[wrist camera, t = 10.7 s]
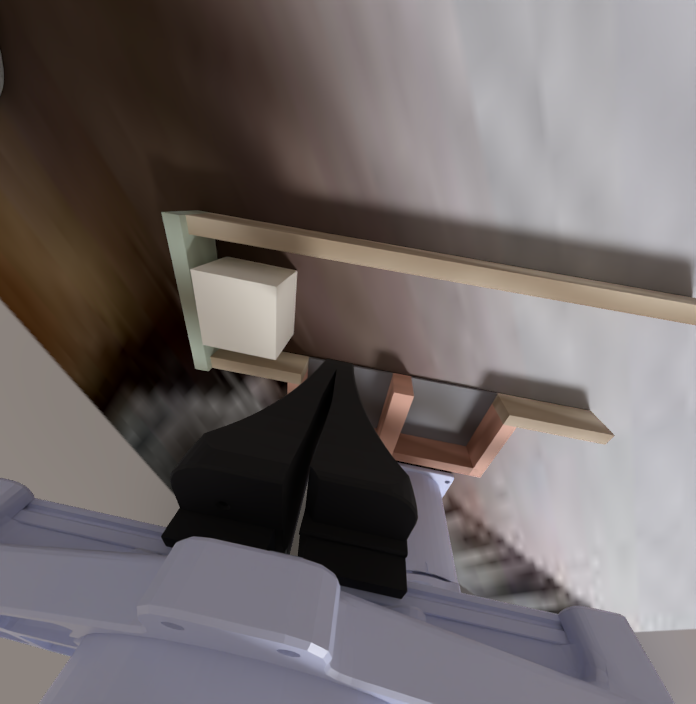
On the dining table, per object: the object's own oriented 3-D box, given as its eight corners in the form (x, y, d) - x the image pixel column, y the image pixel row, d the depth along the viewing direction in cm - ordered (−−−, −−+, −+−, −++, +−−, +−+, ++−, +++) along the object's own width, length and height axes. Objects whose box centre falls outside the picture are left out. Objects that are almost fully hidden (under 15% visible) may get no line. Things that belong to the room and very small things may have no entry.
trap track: (539, 466, 24) (557, 498, 21) (226, 404, 25) (208, 427, 22) (693, 297, 15) (755, 317, 13) (196, 210, 16) (161, 211, 14)
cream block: (294, 333, 20) (275, 359, 17) (233, 320, 20) (202, 344, 17) (297, 270, 17) (276, 286, 14) (227, 255, 18) (190, 269, 14)
